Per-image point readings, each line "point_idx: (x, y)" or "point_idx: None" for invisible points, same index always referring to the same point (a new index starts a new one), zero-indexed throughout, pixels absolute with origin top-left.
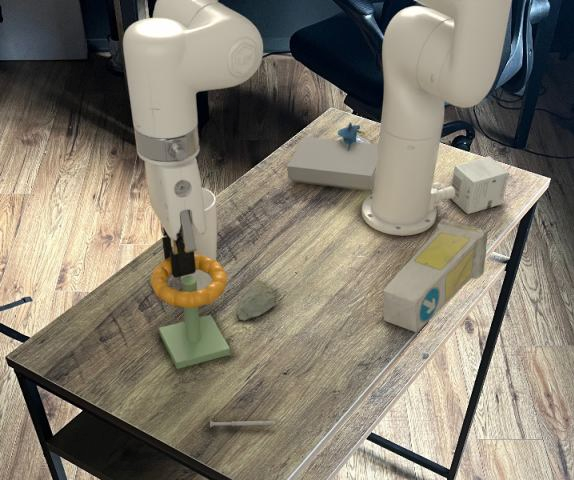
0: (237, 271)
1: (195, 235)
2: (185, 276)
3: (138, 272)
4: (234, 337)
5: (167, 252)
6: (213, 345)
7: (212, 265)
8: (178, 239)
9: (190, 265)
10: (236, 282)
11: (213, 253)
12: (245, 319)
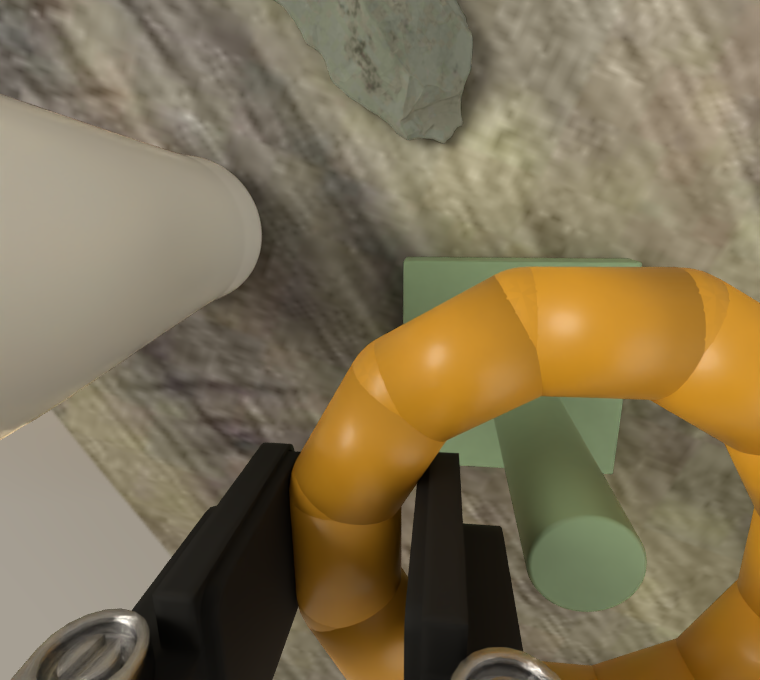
0: (136, 28)
1: (66, 329)
2: (532, 569)
3: (70, 398)
4: (538, 202)
5: (279, 649)
6: None
7: (565, 376)
8: (229, 652)
9: (504, 558)
10: (207, 61)
11: (146, 168)
12: (460, 116)
